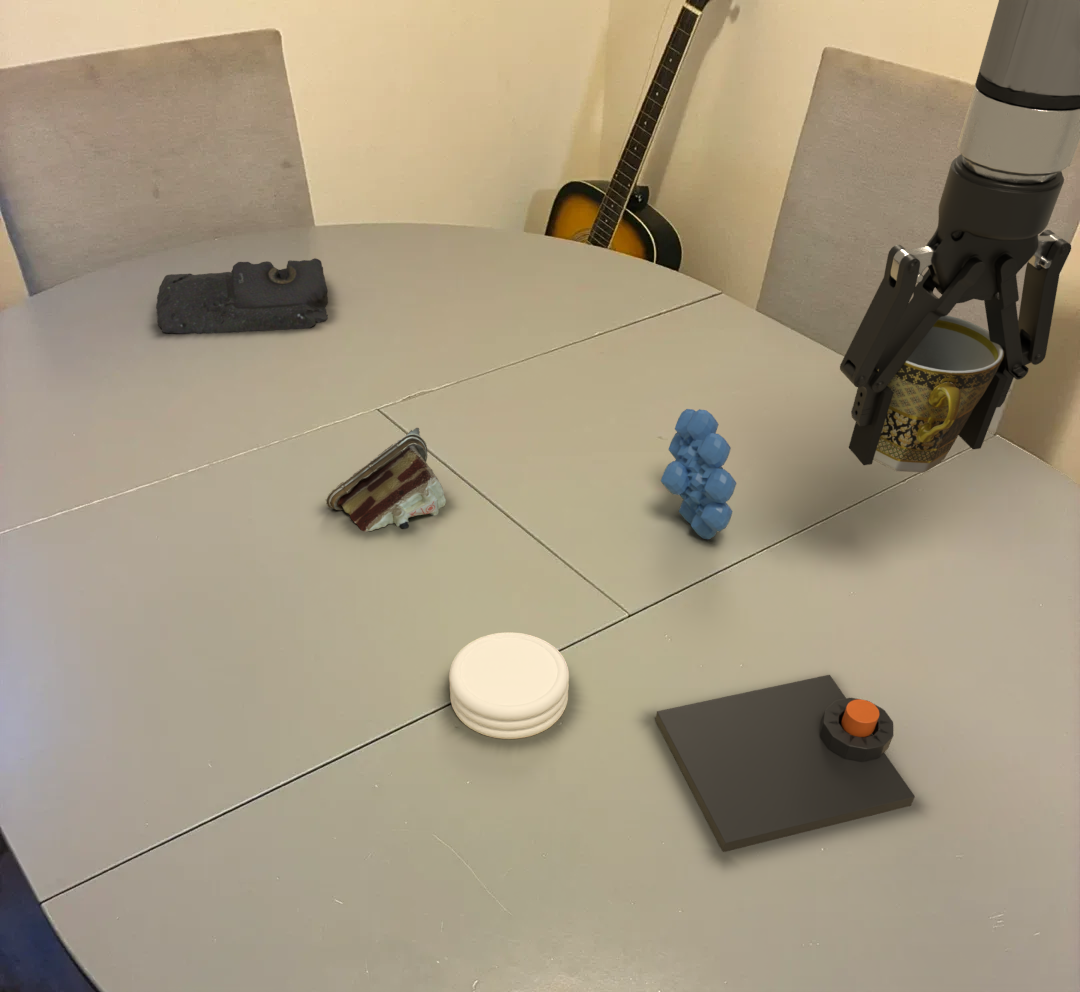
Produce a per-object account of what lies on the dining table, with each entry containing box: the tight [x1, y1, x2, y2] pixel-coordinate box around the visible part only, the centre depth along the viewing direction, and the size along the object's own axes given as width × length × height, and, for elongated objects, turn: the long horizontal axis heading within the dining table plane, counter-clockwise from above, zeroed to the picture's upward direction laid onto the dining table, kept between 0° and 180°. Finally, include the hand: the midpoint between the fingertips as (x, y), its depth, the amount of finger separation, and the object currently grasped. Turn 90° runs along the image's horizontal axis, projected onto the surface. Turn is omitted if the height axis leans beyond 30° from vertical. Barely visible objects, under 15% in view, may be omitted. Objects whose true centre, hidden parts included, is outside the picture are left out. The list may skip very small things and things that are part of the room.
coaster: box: [448, 631, 570, 740], centre depth 87 cm, size 10×10×4 cm
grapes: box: [660, 408, 737, 540], centre depth 101 cm, size 12×7×12 cm, turn 18°
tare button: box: [841, 698, 879, 737], centre depth 82 cm, size 3×3×2 cm
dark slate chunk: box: [155, 257, 329, 335], centre depth 134 cm, size 15×22×5 cm
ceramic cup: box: [873, 315, 1004, 474], centre depth 84 cm, size 13×10×10 cm
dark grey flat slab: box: [655, 674, 916, 853], centre depth 83 cm, size 17×14×3 cm
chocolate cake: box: [324, 427, 447, 532], centre depth 105 cm, size 10×7×12 cm
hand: (914, 448), depth 87 cm, fingers closed on ceramic cup, 9 cm apart
